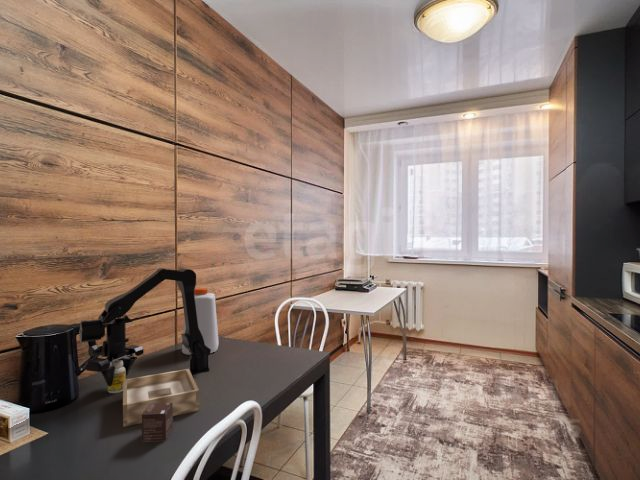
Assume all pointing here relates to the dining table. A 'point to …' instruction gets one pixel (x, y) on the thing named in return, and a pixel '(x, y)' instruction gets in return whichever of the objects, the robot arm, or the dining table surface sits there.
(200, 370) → the robot arm
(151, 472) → the dining table surface
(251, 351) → the dining table surface
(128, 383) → the open box
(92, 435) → the dining table surface
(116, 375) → the supplement bottle
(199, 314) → the plastic bottle
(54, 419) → the dining table surface
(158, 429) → the box
